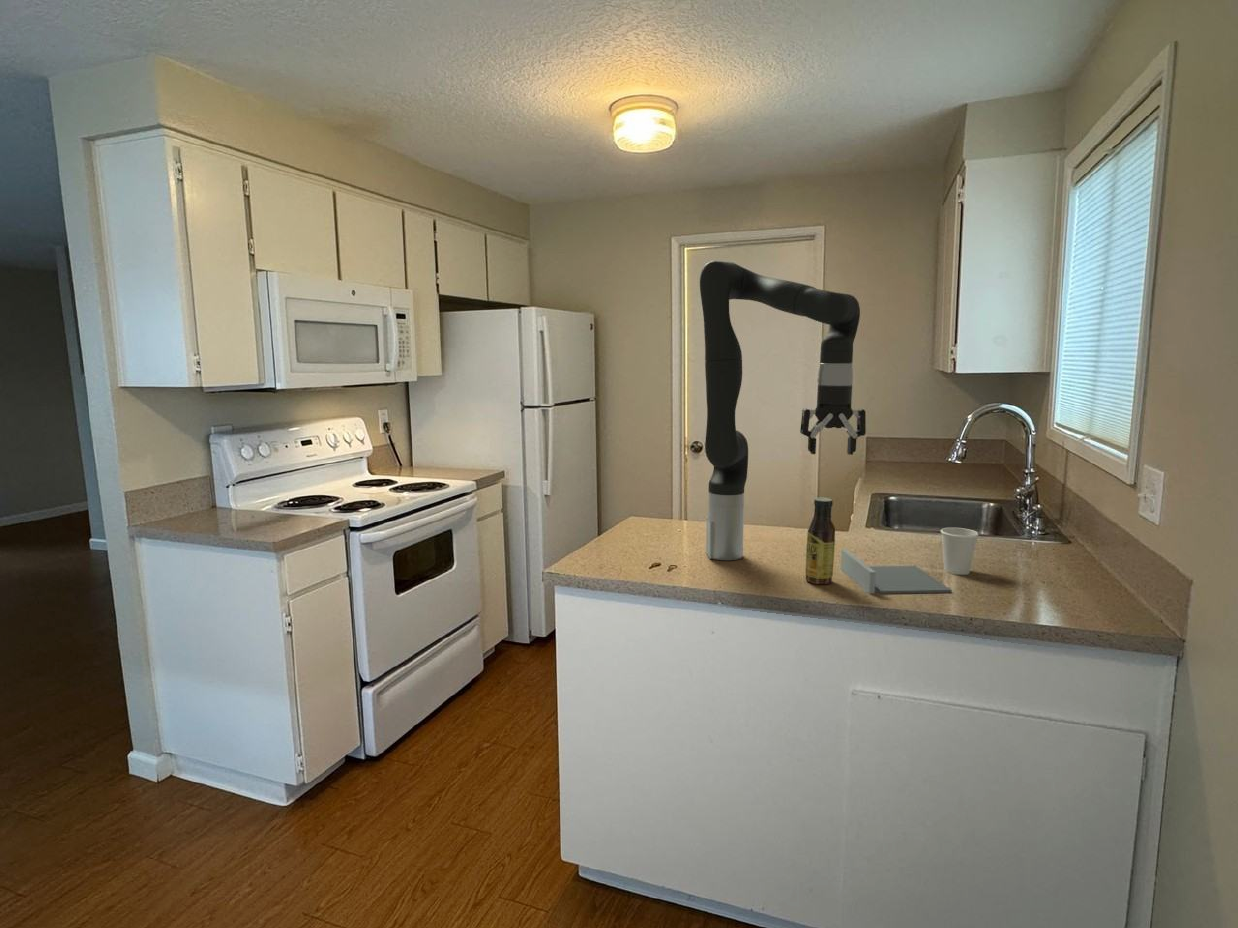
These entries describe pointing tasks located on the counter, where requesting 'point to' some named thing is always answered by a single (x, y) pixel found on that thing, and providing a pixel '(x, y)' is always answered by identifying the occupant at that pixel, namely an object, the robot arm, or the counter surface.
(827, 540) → the sauce bottle
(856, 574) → the low wall
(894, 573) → the slate mat
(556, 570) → the counter surface
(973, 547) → the dixie cup
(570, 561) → the counter surface
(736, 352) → the robot arm
